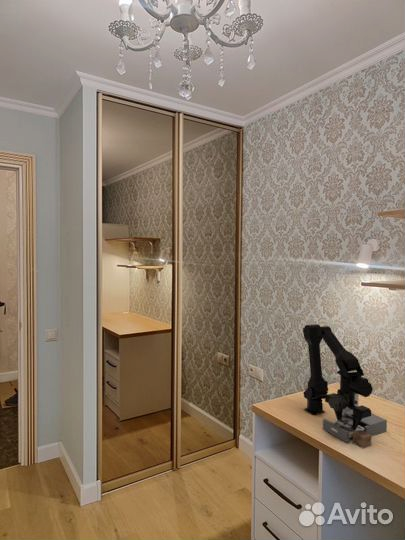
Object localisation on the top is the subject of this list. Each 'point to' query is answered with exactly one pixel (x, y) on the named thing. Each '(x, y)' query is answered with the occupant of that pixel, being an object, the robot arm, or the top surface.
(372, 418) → the housing
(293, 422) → the top surface
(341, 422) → the disc
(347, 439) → the tray
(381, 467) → the top surface
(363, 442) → the walnut block
